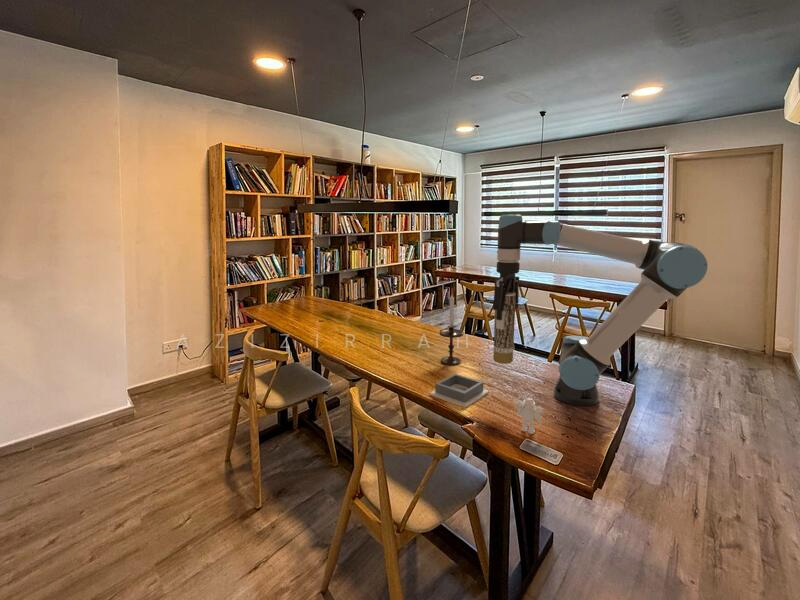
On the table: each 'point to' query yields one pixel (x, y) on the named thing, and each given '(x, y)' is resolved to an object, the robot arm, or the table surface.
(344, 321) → the table surface
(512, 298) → the paper tube
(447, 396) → the collar stand
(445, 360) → the candlestick
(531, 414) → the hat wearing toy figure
